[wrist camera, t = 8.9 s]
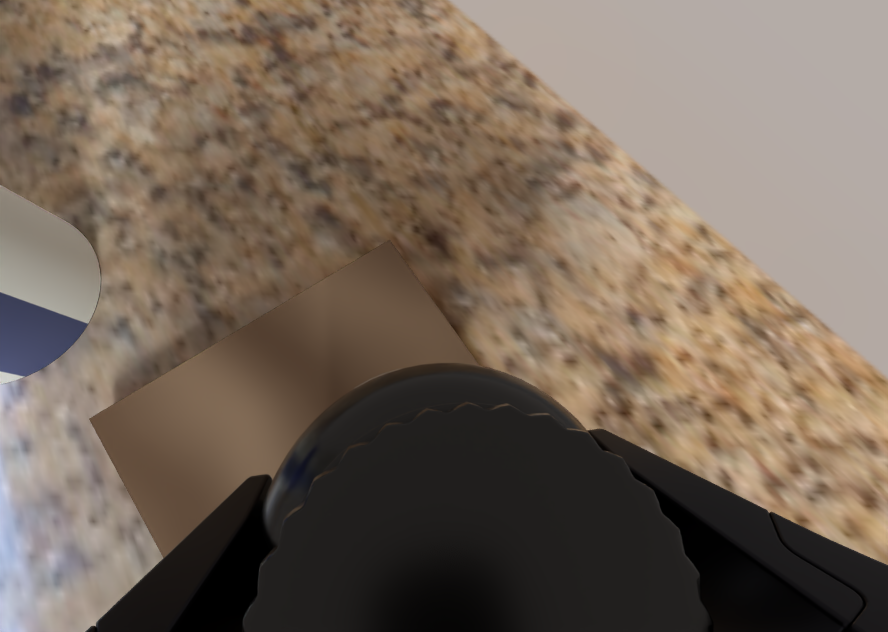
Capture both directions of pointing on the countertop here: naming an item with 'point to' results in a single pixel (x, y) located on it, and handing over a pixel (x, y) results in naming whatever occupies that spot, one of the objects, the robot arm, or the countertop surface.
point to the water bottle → (41, 286)
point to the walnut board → (268, 389)
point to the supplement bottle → (463, 519)
